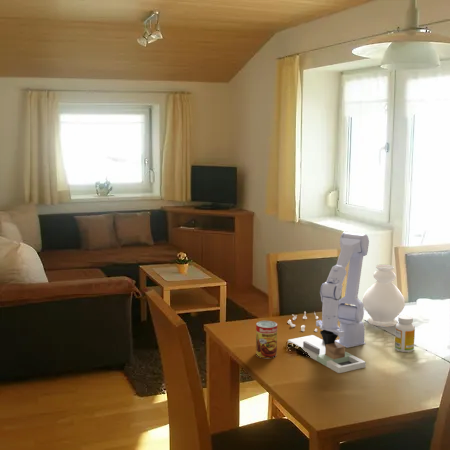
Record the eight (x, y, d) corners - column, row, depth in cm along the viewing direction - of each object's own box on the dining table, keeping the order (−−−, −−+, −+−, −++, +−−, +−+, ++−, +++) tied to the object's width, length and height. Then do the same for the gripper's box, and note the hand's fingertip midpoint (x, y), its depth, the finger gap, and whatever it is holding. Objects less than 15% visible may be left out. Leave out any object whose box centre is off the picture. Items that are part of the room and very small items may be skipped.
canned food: (261, 359, 234) (262, 328, 232) (252, 352, 241) (252, 322, 239) (280, 356, 237) (281, 325, 235) (270, 349, 244) (271, 319, 242)
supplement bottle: (415, 347, 246) (416, 315, 244) (412, 353, 240) (413, 321, 238) (396, 344, 249) (397, 313, 247) (393, 350, 243) (394, 318, 241)
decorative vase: (408, 328, 268) (411, 271, 264) (366, 328, 268) (368, 271, 264) (397, 315, 285) (400, 261, 281) (358, 315, 286) (360, 261, 281)
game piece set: (325, 317, 284) (325, 309, 284) (339, 332, 265) (339, 323, 264) (282, 319, 282) (283, 310, 281) (293, 334, 262) (293, 325, 262)
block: (336, 352, 235) (336, 342, 235) (344, 357, 231) (345, 346, 230) (325, 354, 233) (325, 344, 232) (333, 359, 229) (334, 348, 228)
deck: (312, 339, 255) (313, 330, 254) (365, 367, 227) (365, 356, 226) (287, 344, 249) (288, 334, 248) (338, 373, 221) (339, 362, 221)
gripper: (309, 310, 238) (308, 345, 240) (333, 321, 225) (332, 358, 227) (324, 308, 241) (323, 342, 243) (349, 318, 228) (347, 354, 230)
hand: (329, 349), depth 235 cm, fingers closed
